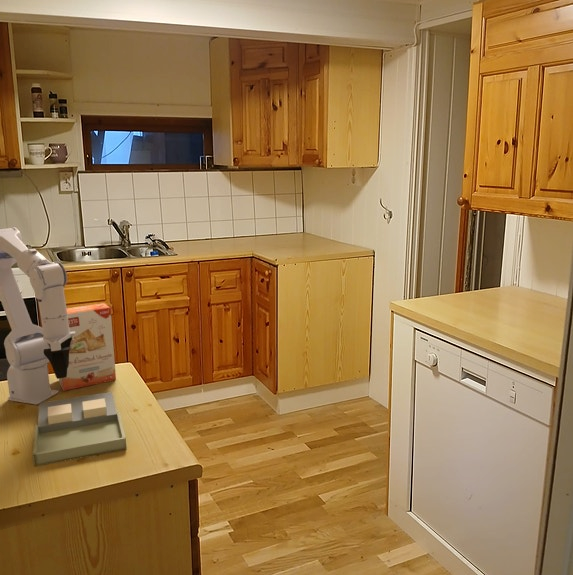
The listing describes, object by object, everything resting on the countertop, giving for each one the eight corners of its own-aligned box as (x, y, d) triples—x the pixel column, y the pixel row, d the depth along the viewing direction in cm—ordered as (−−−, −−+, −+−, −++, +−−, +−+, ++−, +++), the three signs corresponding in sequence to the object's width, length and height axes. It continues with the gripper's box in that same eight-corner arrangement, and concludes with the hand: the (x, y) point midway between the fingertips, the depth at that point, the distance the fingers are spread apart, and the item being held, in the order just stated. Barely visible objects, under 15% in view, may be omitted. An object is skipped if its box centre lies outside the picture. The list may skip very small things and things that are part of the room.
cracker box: (63, 392, 153) (55, 315, 148) (59, 384, 158) (50, 309, 153) (117, 380, 160) (110, 306, 155) (111, 373, 165) (104, 301, 160)
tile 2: (83, 409, 138) (82, 401, 138) (105, 406, 140) (104, 398, 140) (84, 418, 134) (83, 410, 133) (106, 414, 136) (106, 406, 135)
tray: (36, 435, 130) (35, 425, 130) (120, 421, 137) (119, 411, 136) (34, 466, 118) (32, 455, 117) (126, 449, 124) (125, 438, 124)
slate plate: (40, 410, 143) (39, 403, 142) (112, 399, 149) (112, 391, 148) (38, 435, 131) (37, 427, 130) (117, 421, 136) (117, 414, 136)
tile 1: (48, 415, 136) (47, 407, 135) (71, 411, 138) (70, 403, 137) (48, 424, 131) (47, 416, 131) (72, 420, 133) (71, 412, 133)
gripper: (71, 320, 129) (79, 379, 132) (73, 307, 143) (81, 361, 145) (36, 324, 127) (46, 384, 130) (42, 311, 141) (51, 365, 143)
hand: (62, 372), depth 137 cm, fingers open, 7 cm apart
